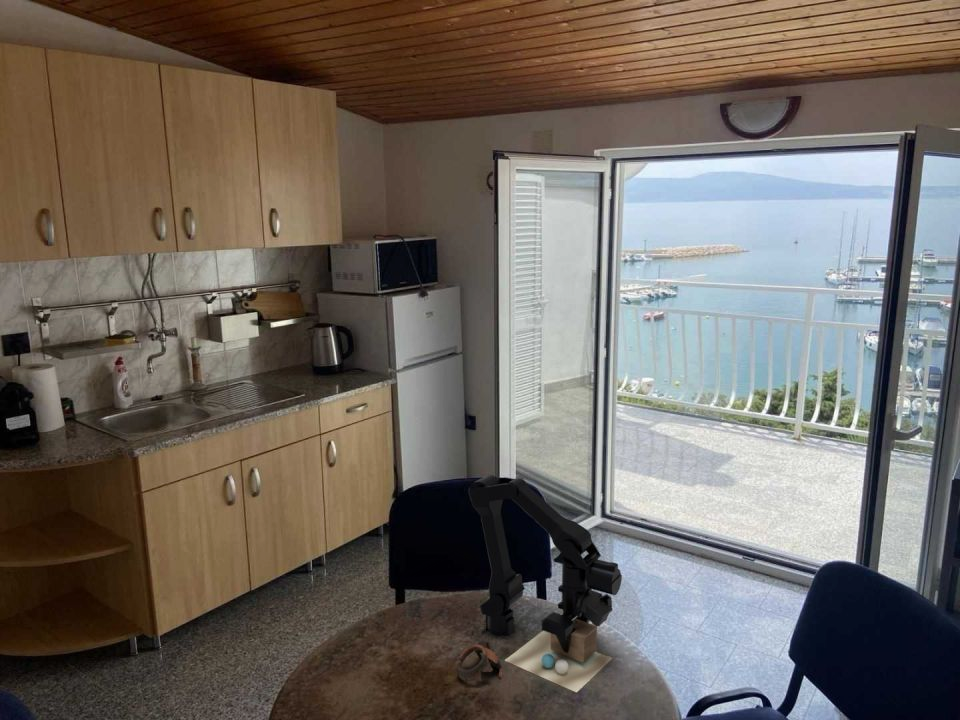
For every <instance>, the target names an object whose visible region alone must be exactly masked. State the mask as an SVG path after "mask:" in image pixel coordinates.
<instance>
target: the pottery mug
mask: <svg viewBox="0 0 960 720" xmlns="http://www.w3.org/2000/svg"><path fill="white" fill-rule="evenodd" d="M473 652H474V653H475V654H476V656H477V657H478V659H479V662H478V663H477V665H475V666H474V667H472V668H470V669H464V668H463V667H462V665H463V663H464V661H465V659H466V658H467V657H468V656H469V655H470V654H472V653H473ZM458 660H459V661H460V662H458V663H457V665H456V666H457V669H458V677H459V678H460V679H461V680H462V681H464V682H472V681H478V682H482V681H483V680H482V672H483V673H491V672H493V671H494V669H493V667H495V668H497V669H498V670H499V672H498V677H499V678H500V679H503V677H504V671H503V666H502V663H501V661H500V659H499V657H498V656H497V655H496V653H495V652H494V651H492V649H491V644H490V642H489V641H488V640H487V639H486V638H483V639H480V640H479V641H478V643H477V644H473V645H469V647H467V648H465V650H463V651H462V653H460V655H459V657H458ZM492 666H493V667H492Z"/></svg>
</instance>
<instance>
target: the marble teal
mask: <svg viewBox="0 0 960 720" xmlns="http://www.w3.org/2000/svg"><path fill="white" fill-rule="evenodd" d="M541 662H542V665H543V666H544V667H546V668H551V667H552V666H553V665H554V663H555V659H554V657H553V656H552V655H551V654H545V655H543V657H542V659H541Z"/></svg>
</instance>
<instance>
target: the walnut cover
mask: <svg viewBox="0 0 960 720" xmlns="http://www.w3.org/2000/svg"><path fill="white" fill-rule="evenodd" d="M573 628H575V629H577V630H576V631H575V632H573V633H572V634H571V639H570V647H569V652H568V653H566V652H564V651H563V649H562V647H561V645H560V643H559V641H558V639H557V637H556V635H554V634H551V633H550V634H551V650H553V651H556V652H558V653H561V654H563V655H565V656H568V657H570V658H573V659H575V660H577V661H580V662H582V663H583V662H584V661H585V660H587V659H588V658H589V657H590V656H591V655H592V654H593V653H594V652H595V651H596V652H597V648H598V647H597V644H598V641H597V640H598V626H595V625H594V624H592V623H590V622H589V623H586V622H584V621H581V620H578V619H576V618H575V619H574V620H573Z"/></svg>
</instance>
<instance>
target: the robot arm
mask: <svg viewBox="0 0 960 720" xmlns="http://www.w3.org/2000/svg"><path fill="white" fill-rule="evenodd" d="M468 495H469V499H470V502H471V504H472V507H473V509H474V510H475V511H476V512H477V513H478V515H479V517H480V521H481V523H482V529H483V530H482V531H483V534H484V540H485V544H486V549H487V556H488V560H489V565H490V570H491V576H490V580H489V584H488V596H489V597H488V599H486V601H485V602H483V603H482V604H481V605H480V610H481V613H482V615H484V616H485V628H484V629H483V630H481V635H484V634H485V633H487V632H488V633H490V634H491V635H493V636H503V637H510V636H511V635H513V633H515V617H514V609H512V607H514V606H515V605H516V604H517V602H518V601H520V600H521V599H522V597H523V594H524V591H525V589H526V587H524V583H523V576H522V574H521V573H516V572H515V571H514V570H513V569H512V566H511V565H512V564H511V561H510V560H511V559H510V554H509V550H508V544H507V539H506V535H505V534H506V533H505V530H504V523H503V519H502V513H501V512H502V511H501V510H502V506H503V502H504V500H509V499H510V500H512V501H514V503H516V504H517V505H518V506H519V507H520V508H521V509H522V510H523V511H524V512H525V513H526V514H527V515H528V516H530V518H532V519H533V520H534V521H535V522H536V523H537V524H539V525H540V527H541V528H543V529H544V530H545V531H546V532H547V533H548V535H549V536H550V539H551V541H552V543H553V545H554V546H555V547H556V549H557V550H558V551H559V554H558V555H556V557H554V558H553V562H554V563H557V564H561V566H562V567H561V585H559V586H558V587H557V588H558V589H557V591H558V592H559V593H561V601H560V602H558V603H557V608H558V609H560V610H562V611H561V612H562V614H560V613H558V612H554V611H552V612H551V613H550V614H548V615H547V616H546V617H544V618H543V619H542V620H541V630H542V631H545V632H548V633H550V634H554V635H556V637H557V639H558V641H559V643H560V645H561V647H562V649H563V651H564V652H566V653H568V652H569V647H570V639H571V634H572V633H573V632H575V631H576V630H577V629H575V628H573V620H574V619H575V618H576V619H578V620H581V621H584V622H586V623H589V624H590V622H591V624H592V625H595V626H597V627H600V626H601V625H602V624H603V623H604V622H606V621H607V619H608V617H609V614H610V613H611V612H612V611H613V609H614V608H613V600H612V597H611V595H612V596H616V595H618V593H619V591H620V588H621V584H622V578H623V577H622V576H623V575H622V573H621V569H619V564H618V563H616V562H610V561H605V560H602V559H599V558H601V555H602V554H601V553H600V551H599V550H598V548H597V547H596V545H595V543H594V541H593V540H592V535H591V533H590V531H589V530H588V529H587V528H585V527H583V526H582V525H581V524H579V523H578V522H577V521H574V520H571V519H569V518H566V517H564V516H562V515H561V514H560V513H559V512H558V511H557V510H555V508H553V507H552V506H551V505H550V504H549V503H547V502H546V501H545V499H543V498H542V497H541V496H540V495H539V494H538V493H537V492H536V491H534V490H533V489H532V488H531V487H530V486H529V485H528V484H527V482H526V480H524V479H523V478H519V477H516V478H511V477H508V476H504V477H503V476H502V477H497V476H495V475H493V474H488V475H486V476H485V475H484V477H481V478H479V479H478V480H476V481H474V482H472V483H471V485H469V487H468ZM585 552H586V553H587V554H586V555H585V556H584V557H583V556H582V555H583V554H584V553H585ZM602 593H605V594H604V595H603V594H602Z"/></svg>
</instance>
